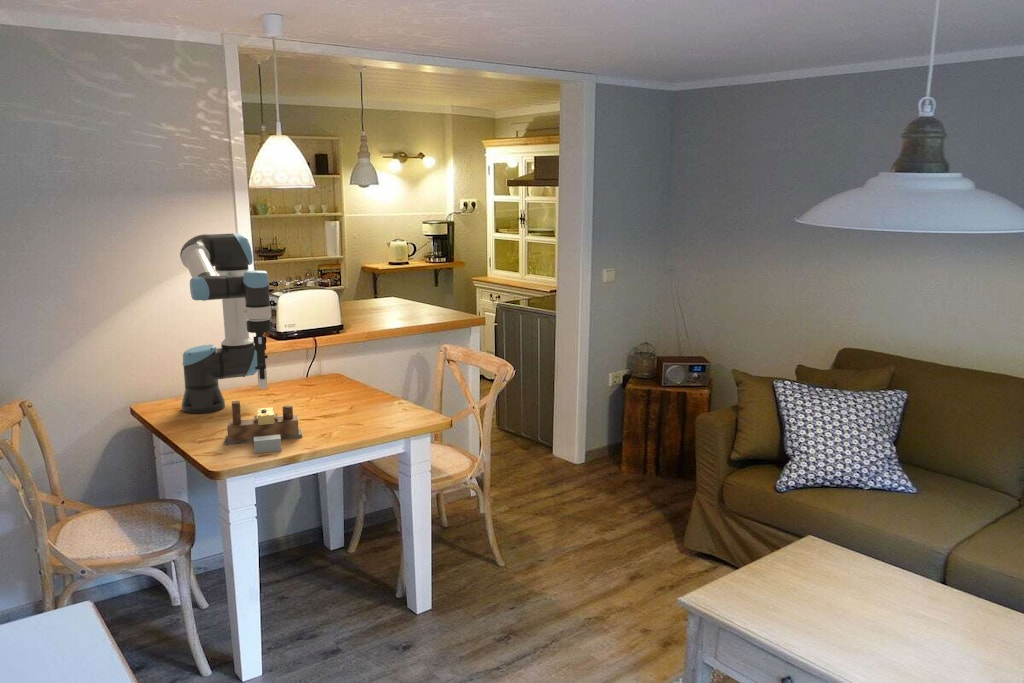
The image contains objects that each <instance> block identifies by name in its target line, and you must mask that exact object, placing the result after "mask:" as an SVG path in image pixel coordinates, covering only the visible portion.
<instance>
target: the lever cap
mask: <svg viewBox="0 0 1024 683" xmlns="http://www.w3.org/2000/svg"><path fill="white" fill-rule="evenodd" d="M256 410H257V419H258V425H265V424H274V417H275V413H274V407H271V406H270V407H262V408H261V407H260V408H259V407H258V408H257V409H256Z"/></svg>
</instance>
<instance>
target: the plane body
mask: <svg viewBox="0 0 1024 683" xmlns="http://www.w3.org/2000/svg"><path fill="white" fill-rule="evenodd" d="M293 409H294V408H293V406H292V405H284V406H282V415H281V416H279V415H278V413H274V424H265V425H258V414H257V415H253V418H251V419H242V416H241V415H242V414H241V413H242V412H241V401H240V400H235V401H231V414H232V420H228V421H227V422H226V427H227V429H226V430H227V435H225V438H224V446H228V445H237V444H249V443H254V437H259V436H270V435H280V437H281V440H289V439H298V438H303V433H302V429H301V428H299V418H298V414H294V411H293Z"/></svg>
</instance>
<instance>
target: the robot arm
mask: <svg viewBox="0 0 1024 683" xmlns="http://www.w3.org/2000/svg"><path fill="white" fill-rule="evenodd" d="M179 252H180V253H179V257H180V261H181V263H182V265H183V266H184V267H185V268H186V269H187V270H188V272H189V274H190V276H191V278H190V280H189V293H190V296H191V299H192V300H193V301H202V302H203V301H204V302H205V301H213V300H221V302H222V316H223V328H224V329H223V330H224V339H223V341H221V344H220V346H221V347H220V348H217V347H216V345H214V344H204V345H197V346H194V347H191V348H188V349H186V350H185V351H184V352H183V353H182V363H181V364H182V366H183V377H184V393H183V397H182V401H181V412H183V413H187V414H195V415H196V414H206V413H207V414H209V413H212V412H213V413H214V412H217V411H221V410H223V409H224V408H225V407H226V401H225V397H224V396H223V393H222V391H221V390H220V385H219V380H223V379H224V380H226V379H233V378H234V379H235V378H245V377H250V376H251V377H252V376H254V375H255V374H257V384H258V385H257V386H258V390H264V389H265V390H266V389H268V376H267V375H268V373H267V361H266V360H267V359H268V355H267V354H266V351H267V335H264V334H265V333H269V332H270V331H272V320H271V317H272V313H271V312H272V310H271V303H270V302H271V301H270V285H269V284H270V279H269V274H268V272H267V271H266V270H249V266H250V265H253V253H252V252H253V251H252V247H251V243H250V241H249V239H248V237H247V235H246V234H243V233H217V234H216V233H215V234H214V233H212V234H211V233H210V234H207V233H206V234H199V235H195V236H193V237H191V238H190V239H188V240H187V241H186V242H185V243H184V244H183V245H182V247H181V248H180V251H179ZM250 333H251V334H254V333H255V336H253V339H252V338H251V337H250V335H249V334H250Z"/></svg>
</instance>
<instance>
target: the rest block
mask: <svg viewBox="0 0 1024 683" xmlns="http://www.w3.org/2000/svg"><path fill="white" fill-rule="evenodd" d="M253 448H254V449H253V450H254V454H262V453H273V452H282V439H281V437H280V435H270V436H259V437H254V442H253Z"/></svg>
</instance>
